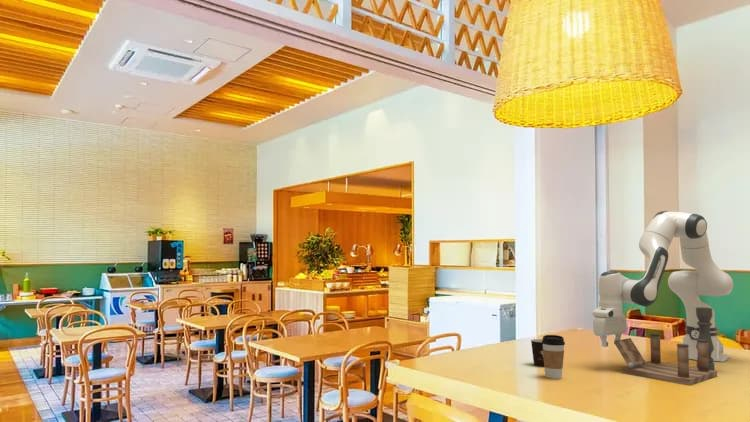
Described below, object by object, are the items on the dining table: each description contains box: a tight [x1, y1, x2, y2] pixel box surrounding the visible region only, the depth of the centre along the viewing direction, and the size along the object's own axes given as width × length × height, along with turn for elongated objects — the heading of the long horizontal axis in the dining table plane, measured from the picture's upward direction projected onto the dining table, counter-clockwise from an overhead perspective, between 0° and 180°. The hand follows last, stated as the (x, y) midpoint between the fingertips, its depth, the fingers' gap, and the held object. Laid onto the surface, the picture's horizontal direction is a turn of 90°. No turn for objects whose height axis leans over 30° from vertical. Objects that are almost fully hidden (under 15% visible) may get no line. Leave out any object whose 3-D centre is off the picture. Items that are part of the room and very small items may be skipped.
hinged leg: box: [613, 337, 647, 368], centre depth 223 cm, size 10×2×11 cm
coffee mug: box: [530, 338, 545, 368], centre depth 231 cm, size 12×9×10 cm
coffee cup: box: [542, 334, 566, 380], centre depth 211 cm, size 8×8×15 cm
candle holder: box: [696, 307, 716, 371], centre depth 226 cm, size 6×6×25 cm
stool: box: [620, 333, 718, 386], centre depth 218 cm, size 25×25×14 cm
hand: (611, 345), depth 229 cm, fingers open, 8 cm apart
